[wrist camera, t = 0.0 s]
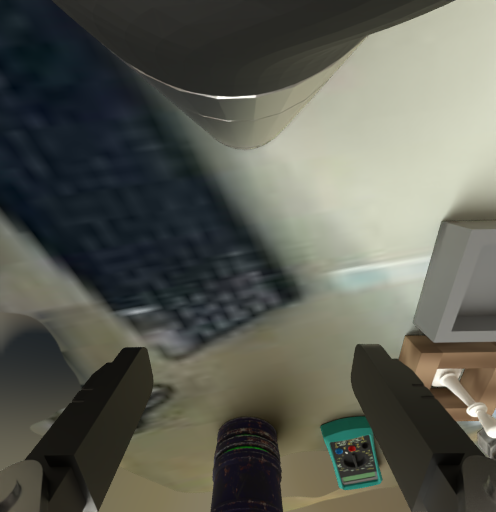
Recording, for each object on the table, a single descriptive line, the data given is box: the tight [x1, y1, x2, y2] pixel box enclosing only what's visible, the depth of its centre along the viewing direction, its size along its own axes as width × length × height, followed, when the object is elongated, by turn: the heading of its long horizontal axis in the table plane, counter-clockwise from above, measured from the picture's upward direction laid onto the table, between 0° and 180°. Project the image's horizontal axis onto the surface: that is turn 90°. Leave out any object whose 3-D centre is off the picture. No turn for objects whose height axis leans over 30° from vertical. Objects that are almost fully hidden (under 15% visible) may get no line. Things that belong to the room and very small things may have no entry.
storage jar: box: [211, 417, 283, 512], centre depth 30 cm, size 10×10×15 cm
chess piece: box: [432, 369, 496, 438], centre depth 27 cm, size 5×5×10 cm
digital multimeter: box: [321, 416, 383, 490], centre depth 37 cm, size 7×15×3 cm, turn 18°
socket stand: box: [399, 335, 496, 421], centre depth 30 cm, size 12×12×3 cm
